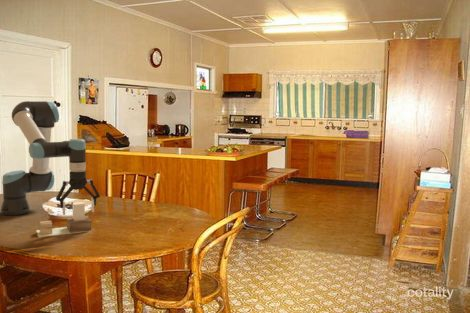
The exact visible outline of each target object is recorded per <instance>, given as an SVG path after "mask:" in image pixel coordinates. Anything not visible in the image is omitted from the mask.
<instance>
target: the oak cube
mask: <svg viewBox="0 0 470 313" xmlns="http://www.w3.org/2000/svg"><path fill="white" fill-rule="evenodd" d="M52 228H53V221H52V220H44V221H39V230H40V233H41V235H43V234H52V233H53V232H52Z"/></svg>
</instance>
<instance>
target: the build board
mask: <svg viewBox="0 0 470 313" xmlns="http://www.w3.org/2000/svg"><path fill="white" fill-rule="evenodd" d="M52 232H53V233H52V234H43V235H41V233H40V229H36V235H37V238H45V237H53V236H61V235H70V234H72V233H70V232H69V230H68V228H67V226H64V227H62V226H61V227H55V228H53V227H52ZM87 232H88V233H89V231H82V232H74V233H73V234H78V233H87Z"/></svg>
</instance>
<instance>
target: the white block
mask: <svg viewBox="0 0 470 313" xmlns="http://www.w3.org/2000/svg"><path fill="white" fill-rule="evenodd" d="M71 206H72V217H73V220H74V221H78V220H85V216H86V209H85V208H86V207H85V206H86V205H85V202H84V201H78V202H77V201H76V202H72V205H71Z"/></svg>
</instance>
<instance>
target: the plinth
mask: <svg viewBox="0 0 470 313" xmlns="http://www.w3.org/2000/svg"><path fill="white" fill-rule="evenodd" d="M66 227H67V228H68V230H69V232H70V233H71V234H75V233H74V232H80V233H83V232H82V231H88V232H92V220H91V218H90V217H89V215H85V220H78V221H74V220H73V216H70V217H66Z"/></svg>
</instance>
